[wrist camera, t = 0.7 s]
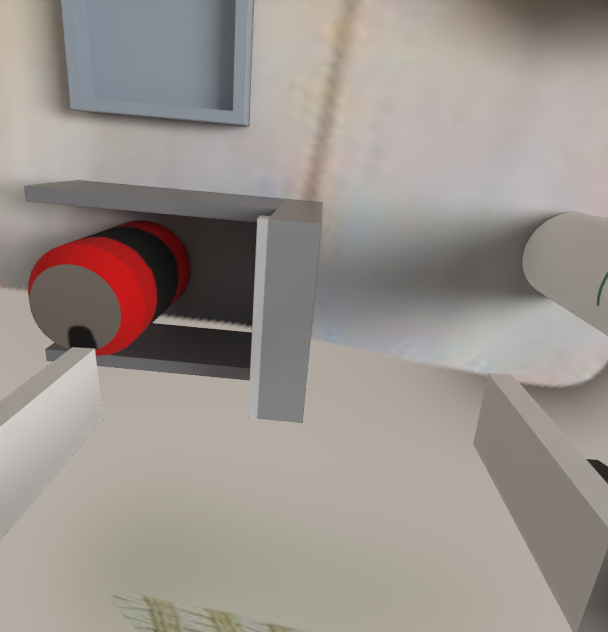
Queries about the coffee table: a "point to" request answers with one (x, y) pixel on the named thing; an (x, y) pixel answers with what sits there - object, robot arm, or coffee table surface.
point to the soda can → (108, 286)
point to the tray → (160, 58)
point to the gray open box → (269, 293)
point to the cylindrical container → (571, 264)
